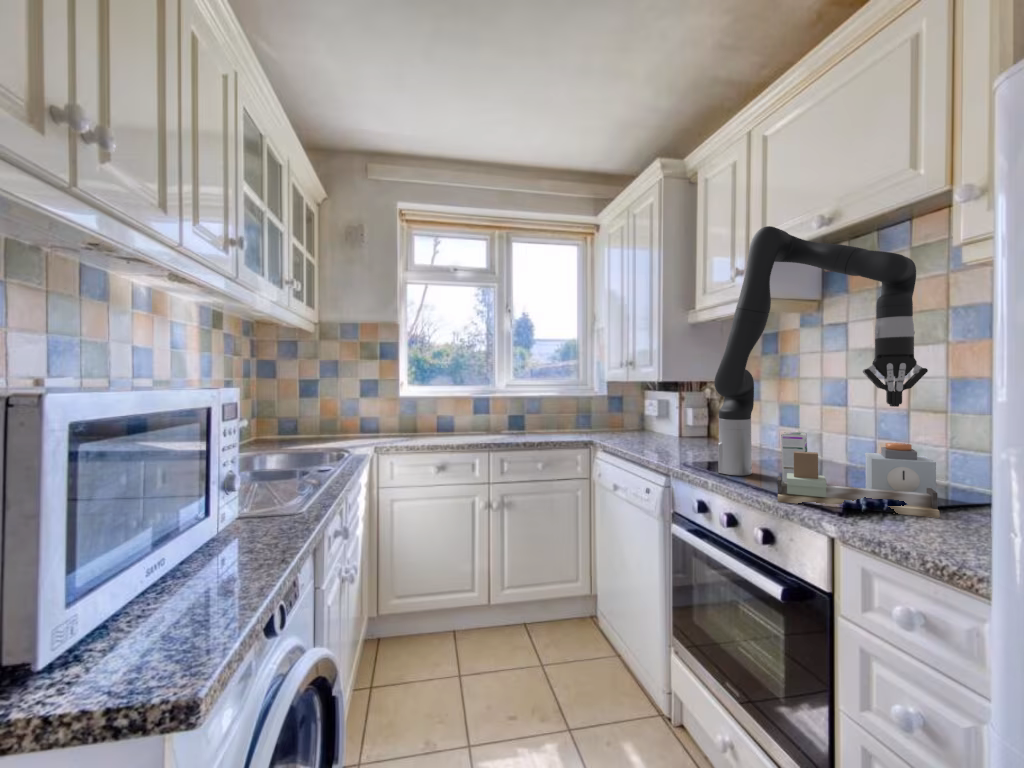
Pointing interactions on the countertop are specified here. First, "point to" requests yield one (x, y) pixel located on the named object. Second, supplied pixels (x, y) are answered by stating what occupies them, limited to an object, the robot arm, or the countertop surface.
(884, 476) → the gauge cabinet
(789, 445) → the syrup box
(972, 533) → the countertop surface
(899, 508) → the rail base
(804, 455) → the brown block on pedestal
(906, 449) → the button
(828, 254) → the robot arm
